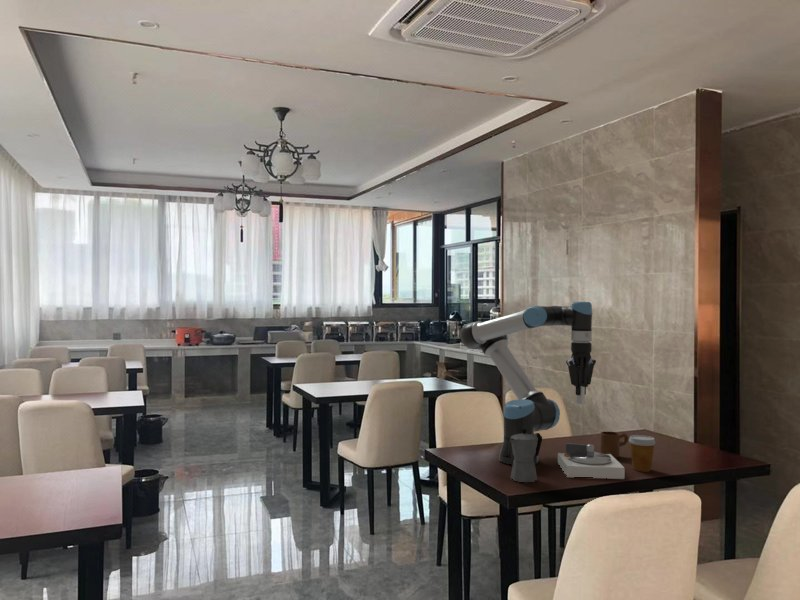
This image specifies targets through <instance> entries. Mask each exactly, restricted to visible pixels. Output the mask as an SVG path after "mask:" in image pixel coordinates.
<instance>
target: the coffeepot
mask: <svg viewBox="0 0 800 600" xmlns="http://www.w3.org/2000/svg"><path fill="white" fill-rule="evenodd" d="M526 430H527V429H525V428H524V429H522V434H516V435H513V436H511V439H510V441H511V444H512V451H513V455H514V461H513V465H511V472H510V477H509V479H511V478H512V479H513V480H515V481H520V482H533V483H535V482H536V481H537V480H538V475H537V470H536V464H535V462H534V460H533V457H536V456H538V457H539V454H540V450H541V446H542V442H543V437H542V435H541V433H538V432H537V433H536V432H535V433H534V434H531V435H529V434H526ZM535 452H536V453H535ZM512 479H511V480H512ZM513 480H512V481H513ZM535 480H536V481H535ZM515 481H514V482H515ZM534 481H535V482H534Z"/></svg>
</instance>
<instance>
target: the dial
mask: <svg viewBox="0 0 800 600" xmlns="http://www.w3.org/2000/svg"><path fill="white" fill-rule="evenodd" d="M565 445H566V446H565V453H566V455H569V459H570V460H571V461H573V462H577V463H581V464H588V465H604V464H609V463H610V462H611V457H610V456H609V455H607V454H604V453H600V451H599V452H597V451H595V445H594V444H592V443H588V444H586V443H585V444H583V443H575V442H574V443H573V442H572V443H570V442H566V443H565Z"/></svg>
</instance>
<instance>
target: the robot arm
mask: <svg viewBox="0 0 800 600" xmlns="http://www.w3.org/2000/svg"><path fill="white" fill-rule="evenodd" d="M592 307H593V306H592V303H591V301H572V303H571V305H570V306H563V305H562V306H560V305H559V306H558V305H550V306H547V305H546V306H539V305H534V306H530V307H527V308H526V309H525V310H521V311H518V312H514V313H511V314H506V315H503V316H500V317H496V318H494V319H489V320H485V321H481V320H477V321H473V322H472V321H471V322H469V323H466V324H465V325H463V327H462V328H461V330H460V334H459V337H460V340H461V343H462V344H463V346H465V347H466V348H468V349H472V350H481V351H482V353H483V355H485V357H487V358H490V359H491V360H492V362H493V363H494V365H495V366H496V367H497V369H498V371H499V373H500V374H501V376H502V378H503V379H504V380H505V382H506V383H507V385H508V387H509V389H511V391H512V393H513V394H514V396H515V397H516V399H513V400H510V401H509V400H508V401H507V402H506V403H505V404H504V406H503V407H504V408H503V441H502V445H501V447H500V451H499V453H498V461H499V462H500V461H501V462H500V463H502V462H503V463H502V464H505V463H506V464H505V465H509V464H511V465H510V466H513V461H514V455H513V451H512V444H511V441H510V439H511V436H513V435H516V434H522V429H524V428H525V429H527V430H526V434H529V435H531V434H535V433H536V432H541V431H548V430H549V429H553V428H554V427H555V426H557V425H558V423H559V421H560V416H561V412H560V408H559V405H558V404H557V402H555V401H554V400H552V399H550V398H547V397H546V395H545V394H544V393H543V391H539V390H537V388H536V387H535V385H534V384H533V383H532V381H531V379H529V377H528V375H527V374H526V372H525V371H524V369H523V368H522V366H521V365H520V363H519V361H518V360H517V359H516V357H515V355H514V354H513V353H512V351H511V350H510V347H508V346H509V341H508V339H509V336H508V335H511V334H515V333H519V332H524V331H526V330H531V329H535V328H539V327H545V326H547V327H552V326H554V327H555V326H562V327H563V326H567V327H568V326H569V327H571V332H570V333H571V334H570V340H571V343H570V351H571V353H572V354H571V357H570V359H567V360H566V361H565V363H566V366H567V368H568V373H569V379H570V384H571V385H573V386H574V387H575V395H576V404H579V405H585V403H586V401H585V400H586V399H585V398H586V397H585V396H586V394H587V388H588V387H589V386H590V385H591V384H592V383H591V382H592V377H593V372H594V367H595V365H596V363H597V360H596V359H593V358H592V355H591V353H592V349H593V347H592V343H591V342H593V341H592V338H593V337H592V333H593V332H592V330H593V329H592V324H593V321H592V320H593V308H592ZM535 453H536V452H535ZM533 460H534V462H535V465H536V464H538V463H539V455H538V456H536V457H533Z"/></svg>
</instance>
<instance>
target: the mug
mask: <svg viewBox="0 0 800 600" xmlns="http://www.w3.org/2000/svg"><path fill="white" fill-rule="evenodd" d="M622 438H623V440H622V441H621V439H622ZM628 442H629V436H628V435H627V433H625V432H624V433H618V432H616V431H601V432H600V436H599V453H604V454H611V455H612V456H613V457H614V458H615V459H617V458H619V457H620V451H621V450H620V448H621V447H623V446H625V445H627V443H628Z"/></svg>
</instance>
